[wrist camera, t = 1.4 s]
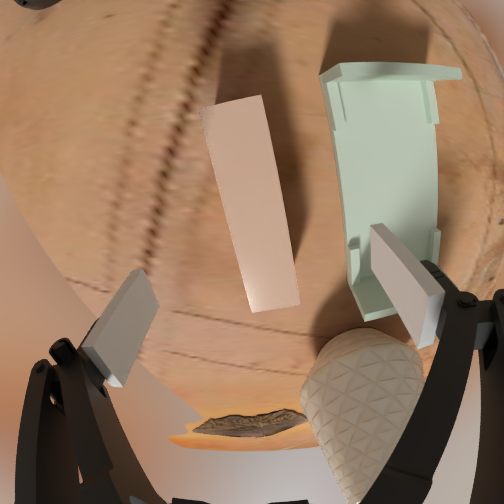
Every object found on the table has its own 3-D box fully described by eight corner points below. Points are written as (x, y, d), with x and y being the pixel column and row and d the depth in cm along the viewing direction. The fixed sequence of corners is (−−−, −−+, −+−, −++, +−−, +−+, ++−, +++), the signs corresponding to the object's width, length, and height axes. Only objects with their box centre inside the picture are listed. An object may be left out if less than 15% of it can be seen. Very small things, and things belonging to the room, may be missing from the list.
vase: (417, 350, 38) (466, 467, 18) (330, 398, 44) (348, 514, 23) (380, 286, 32) (459, 451, 12) (271, 352, 38) (274, 512, 17)
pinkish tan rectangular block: (213, 110, 24) (198, 109, 18) (260, 100, 23) (261, 94, 17) (253, 272, 32) (252, 312, 26) (292, 266, 31) (300, 304, 25)
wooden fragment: (305, 404, 45) (306, 408, 44) (312, 427, 50) (313, 431, 49) (178, 415, 49) (177, 419, 48) (200, 437, 54) (200, 441, 53)
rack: (318, 75, 22) (339, 63, 15) (420, 73, 20) (460, 68, 14) (347, 282, 32) (364, 321, 26) (428, 263, 31) (456, 295, 24)
